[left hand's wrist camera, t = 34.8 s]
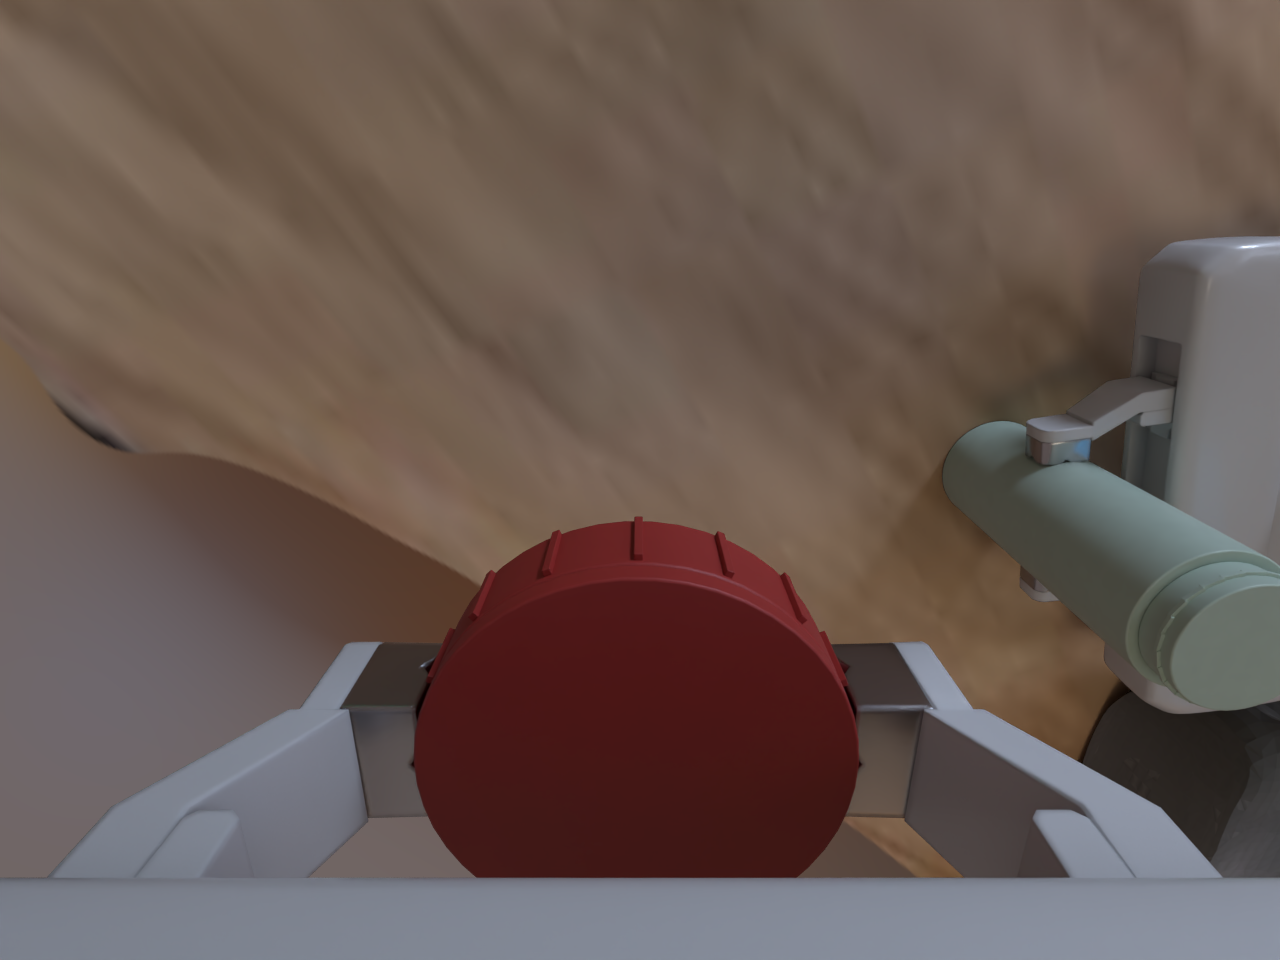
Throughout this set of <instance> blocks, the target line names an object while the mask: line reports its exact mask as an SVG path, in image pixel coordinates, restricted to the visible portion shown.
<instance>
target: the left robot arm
mask: <svg viewBox="0 0 1280 960" xmlns="http://www.w3.org/2000/svg"><path fill="white" fill-rule="evenodd" d="M442 644H443V643H403V642H384V643H382V642H351V643H348V644H346V645H345V646H344V647H343V648H342V650H341V651H340V652H339V654H338V655H337V657H336V658H335V659H334V661H333V662H332V664H331V665H330V666H329V668H328V669H327V671H326V672H325V674H324V675H323V676H322V678H321V679H320V681H319V682H318V683H317V685H316V686H315V688H314V689H313V690H312V692H311V693H310V695H309V696H308V698H307V699H306V700H305V702H304V703H303V705H302V706H301V707H300V709H289V710H287V711H285V712H283V713H281V714H280V715H278V716H276V717H274V718H272V719H270V720H268V721H267V722H265V723H263V724H261V725H259V726H258V727H256V728H254V729H252V730H250V731H248V732H247V733H245V734H243V735H241V736H239V737H238V738H236V739H234V740H232V741H230V742H228V743H227V744H225V745H223V746H221V747H219V748H217V749H216V750H214V751H212V752H210V753H208V754H206V755H205V756H203V757H201V758H199V759H197V760H196V761H194V762H192V763H190V764H188V765H187V766H185V767H183V768H181V769H179V770H177V771H176V772H174V773H172V774H170V775H168V776H166V777H165V778H163V779H161V780H159V781H157V782H155V783H154V784H152V785H150V786H148V787H146V788H145V789H143V790H141V791H139V792H137V793H135V794H134V795H132V796H130V797H128V798H126V799H124V800H123V801H121V802H119V803H117V804H115V805H114V806H112V807H111V808H110V809H109V810H108V811H107V812H106V813H105V814H104V815H103V816H102V818H101V819H100V820H99V821H98V822H97V823H96V824H95V825H94V826H93V827H92V828H91V830H90V831H89V832H88V833H87V834H86V835H85V836H84V837H83V838H82V839H81V841H80V842H79V843H78V844H77V845H76V846H75V847H74V848H73V849H72V850H71V851H70V853H69V854H68V855H67V856H66V857H65V858H64V859H63V860H62V861H61V862H60V864H59V865H58V866H57V867H56V868H55V869H54V870H53V871H52V872H51V873H50V874H49V876H48V877H47V878H0V960H1280V878H1223V877H1222V876H1221V875H1220V874H1219V872H1218V871H1217V870H1216V869H1215V868H1214V867H1213V866H1212V865H1211V863H1210V862H1209V861H1208V860H1207V859H1206V858H1205V857H1204V856H1203V854H1202V853H1201V852H1200V851H1199V850H1198V849H1197V848H1196V847H1195V845H1194V844H1193V843H1192V842H1191V841H1190V840H1189V839H1188V838H1187V836H1186V835H1185V834H1184V833H1183V832H1182V831H1181V830H1180V829H1179V828H1178V826H1177V825H1176V824H1175V823H1174V822H1173V821H1172V820H1171V819H1170V817H1169V816H1168V815H1167V814H1166V813H1165V812H1164V811H1163V810H1162V808H1160V807H1159V806H1157V805H1155V804H1153V803H1151V802H1150V801H1148V800H1146V799H1144V798H1142V797H1141V796H1139V795H1137V794H1135V793H1133V792H1132V791H1130V790H1128V789H1126V788H1124V787H1123V786H1121V785H1119V784H1117V783H1115V782H1114V781H1112V780H1110V779H1108V778H1106V777H1105V776H1103V775H1101V774H1099V773H1097V772H1096V771H1094V770H1092V769H1090V768H1088V767H1087V766H1085V765H1083V764H1081V763H1079V762H1078V761H1076V760H1074V759H1072V758H1070V757H1069V756H1067V755H1065V754H1063V753H1061V752H1060V751H1058V750H1056V749H1054V748H1052V747H1051V746H1049V745H1047V744H1045V743H1043V742H1042V741H1040V740H1038V739H1036V738H1034V737H1033V736H1031V735H1029V734H1027V733H1025V732H1024V731H1022V730H1020V729H1018V728H1016V727H1015V726H1013V725H1011V724H1009V723H1007V722H1006V721H1004V720H1002V719H1000V718H998V717H997V716H995V715H993V714H991V713H989V712H988V711H986V710H984V709H973V708H972V706H971V705H970V704H969V702H968V701H967V699H966V698H965V696H964V695H963V694H962V692H961V691H960V689H959V688H958V686H957V685H956V684H955V682H954V681H953V679H952V678H951V676H950V675H949V674H948V672H947V671H946V669H945V668H944V667H943V665H942V664H941V662H940V661H939V659H938V658H937V657H936V655H935V654H934V652H933V651H932V649H931V648H930V647H929V645H928V644H926V643H924V642H894V643H870V644H831V646H832V648H833V650H834V653H835V655H836V657H837V659H838V661H839V664H840V666H841V668H842V670H843V672H844V675H845V677H846V679H847V682H848V685H847V686H844V687H843V688H844V690H845V692H846V695H847V697H848V700H849V703H850V706H851V709H852V711H853V714H854V717H855V723H856V728H857V734H858V739H859V766H858V773H857V779H856V786H855V790H854V793H853V796H852V799H851V802H850V806H849V809H848V811H847V813H846V815H845V816H851V817H886V818H905V822H906V823H907V824H908V825H909V826H911V827H912V828H913V829H914V830H915V831H916V832H917V833H918V834H919V835H920V836H921V837H922V838H923V839H924V840H925V841H926V842H927V843H929V844H930V845H931V846H932V847H933V848H934V849H935V850H936V851H937V852H938V853H939V854H940V855H941V856H942V857H943V858H944V859H945V860H947V861H948V862H949V863H950V864H951V865H952V866H953V867H954V868H955V869H956V870H957V871H958V872H959V873H960V874H961V875H962V876H963V877H965V878H308V877H309V876H310V875H311V874H312V873H314V872H315V871H316V870H317V869H318V868H319V867H320V866H321V865H322V864H323V863H324V862H325V861H326V860H327V859H329V858H330V857H331V856H332V855H333V854H334V853H335V852H336V851H337V850H338V849H339V848H340V847H341V846H343V845H344V844H345V843H346V842H347V841H348V840H349V839H350V838H351V837H352V836H353V835H354V834H355V833H356V832H358V831H359V830H360V829H361V828H362V827H363V826H364V825H365V824H366V823H367V822H368V818H386V817H421V816H428V815H427V813H426V811H425V809H424V807H423V803H422V800H421V797H420V793H419V790H418V787H417V782H416V775H415V767H414V736H415V731H416V726H417V721H418V716H419V712H420V709H421V707H422V704H423V702H424V699H425V696H426V694H427V691H428V689H429V687H430V683H427V682H426V679H427V676H428V674H429V672H430V669H431V667H432V665H433V663H434V661H435V659H436V657H437V655H438V652H439V650H440V648H441V646H442Z"/></svg>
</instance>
